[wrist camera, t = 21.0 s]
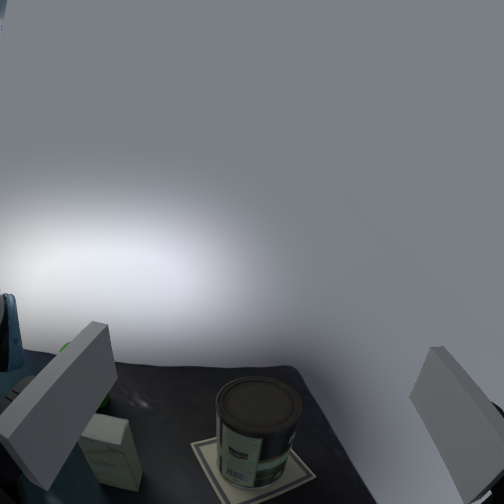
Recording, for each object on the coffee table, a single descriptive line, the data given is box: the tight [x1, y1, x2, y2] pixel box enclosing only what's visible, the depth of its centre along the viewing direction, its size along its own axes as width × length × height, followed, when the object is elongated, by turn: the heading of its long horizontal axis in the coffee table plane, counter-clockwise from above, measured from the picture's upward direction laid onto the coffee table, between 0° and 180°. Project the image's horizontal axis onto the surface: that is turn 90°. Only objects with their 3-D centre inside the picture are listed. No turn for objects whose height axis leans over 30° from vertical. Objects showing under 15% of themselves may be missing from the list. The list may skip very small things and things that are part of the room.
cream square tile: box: [190, 437, 316, 504], centre depth 35 cm, size 14×14×1 cm
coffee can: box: [215, 377, 303, 490], centre depth 33 cm, size 10×10×14 cm
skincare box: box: [78, 413, 143, 492], centre depth 27 cm, size 6×4×12 cm
